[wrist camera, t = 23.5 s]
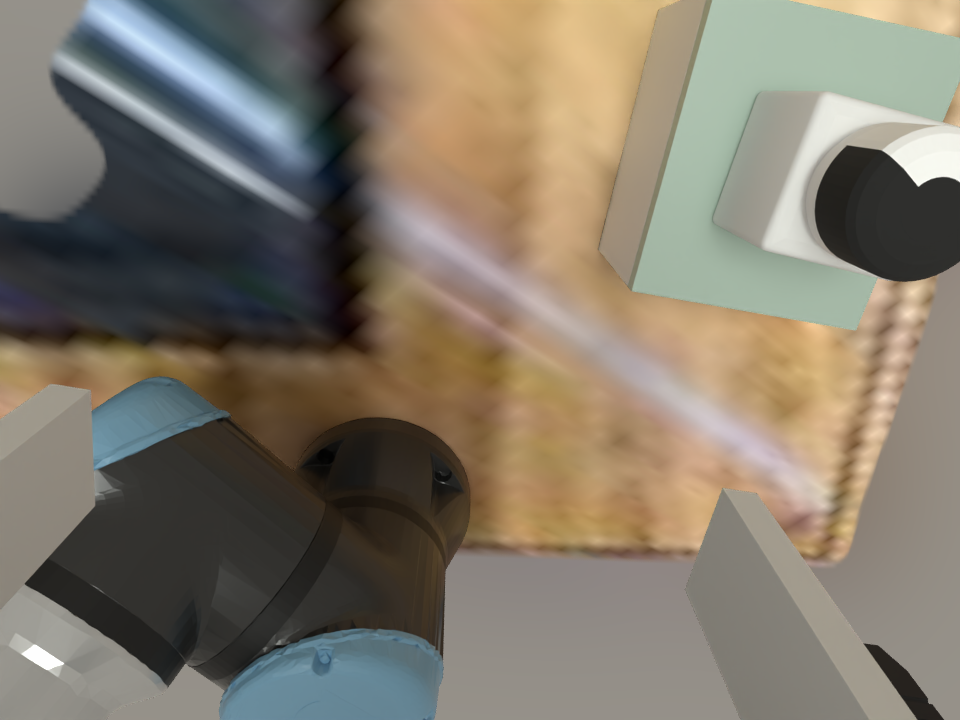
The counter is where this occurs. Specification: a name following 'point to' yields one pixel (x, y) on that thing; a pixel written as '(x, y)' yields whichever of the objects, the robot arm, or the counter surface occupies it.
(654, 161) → the storage box
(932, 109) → the lid
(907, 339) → the counter surface
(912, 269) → the medicine bottle
